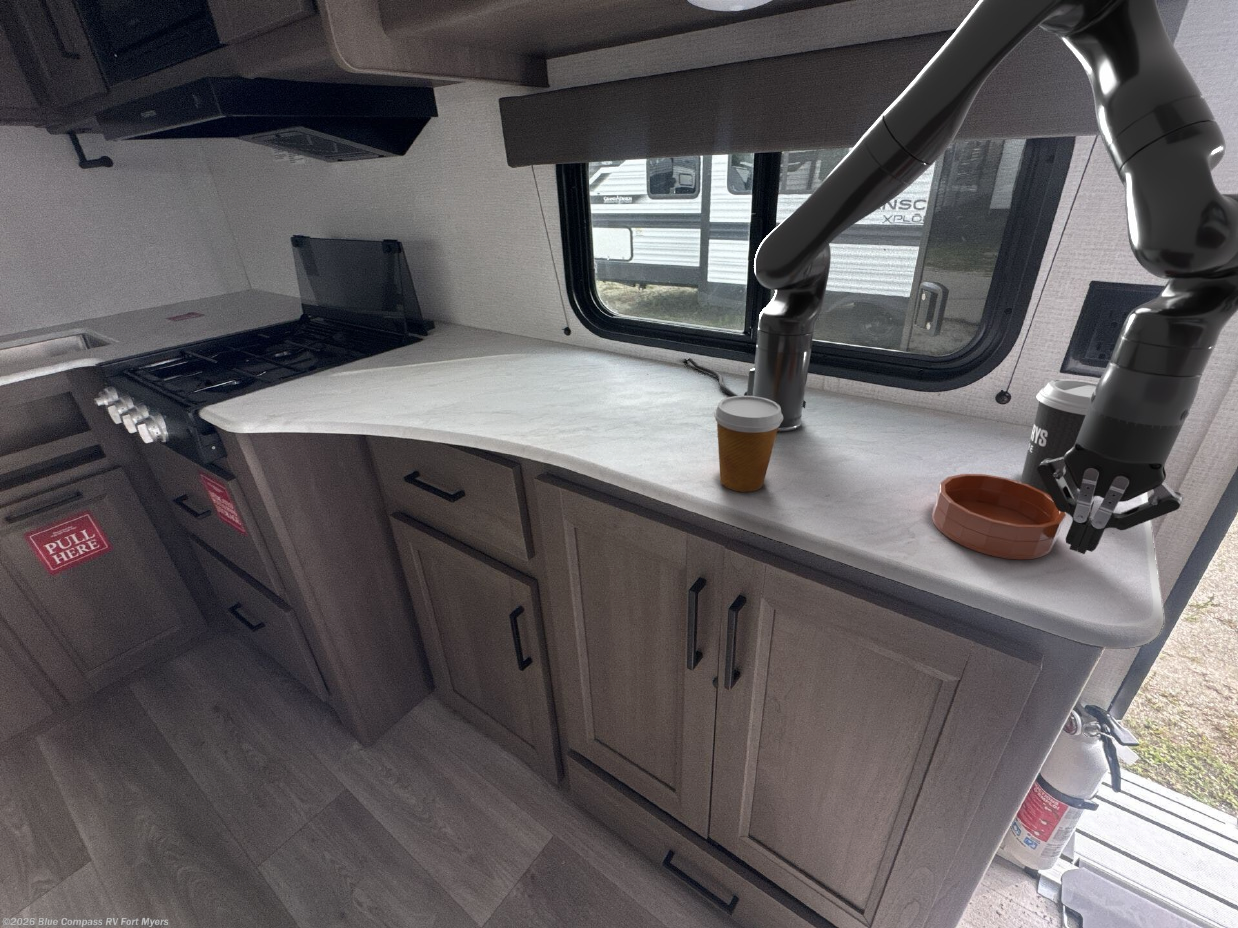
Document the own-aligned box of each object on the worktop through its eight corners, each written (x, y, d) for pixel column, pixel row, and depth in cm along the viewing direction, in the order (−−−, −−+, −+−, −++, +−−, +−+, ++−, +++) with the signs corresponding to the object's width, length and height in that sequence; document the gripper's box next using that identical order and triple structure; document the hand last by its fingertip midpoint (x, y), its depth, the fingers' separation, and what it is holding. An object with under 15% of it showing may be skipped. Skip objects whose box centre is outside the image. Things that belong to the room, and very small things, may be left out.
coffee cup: (1055, 471, 86) (1091, 376, 79) (1105, 503, 78) (1151, 400, 71) (993, 472, 86) (1024, 377, 79) (1037, 504, 77) (1076, 401, 71)
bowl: (914, 527, 73) (922, 496, 71) (955, 492, 81) (963, 464, 78) (1033, 574, 64) (1046, 540, 62) (1065, 530, 72) (1078, 499, 70)
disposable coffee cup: (783, 495, 80) (794, 417, 75) (717, 499, 80) (723, 420, 74) (763, 465, 89) (771, 393, 83) (703, 468, 88) (707, 395, 83)
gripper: (1230, 417, 56) (1158, 560, 63) (1069, 386, 65) (1023, 515, 72) (1221, 438, 51) (1145, 590, 59) (1050, 402, 60) (1003, 538, 68)
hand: (1078, 548), depth 66 cm, fingers closed
